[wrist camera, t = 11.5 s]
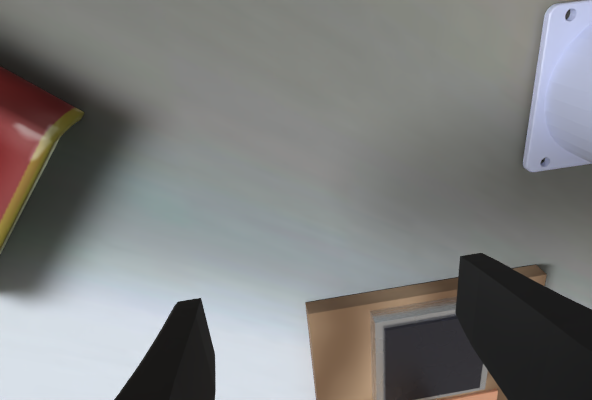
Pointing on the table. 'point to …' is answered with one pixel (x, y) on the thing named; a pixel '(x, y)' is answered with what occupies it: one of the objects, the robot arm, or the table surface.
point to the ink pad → (422, 353)
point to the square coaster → (476, 396)
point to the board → (368, 335)
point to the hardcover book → (26, 142)
